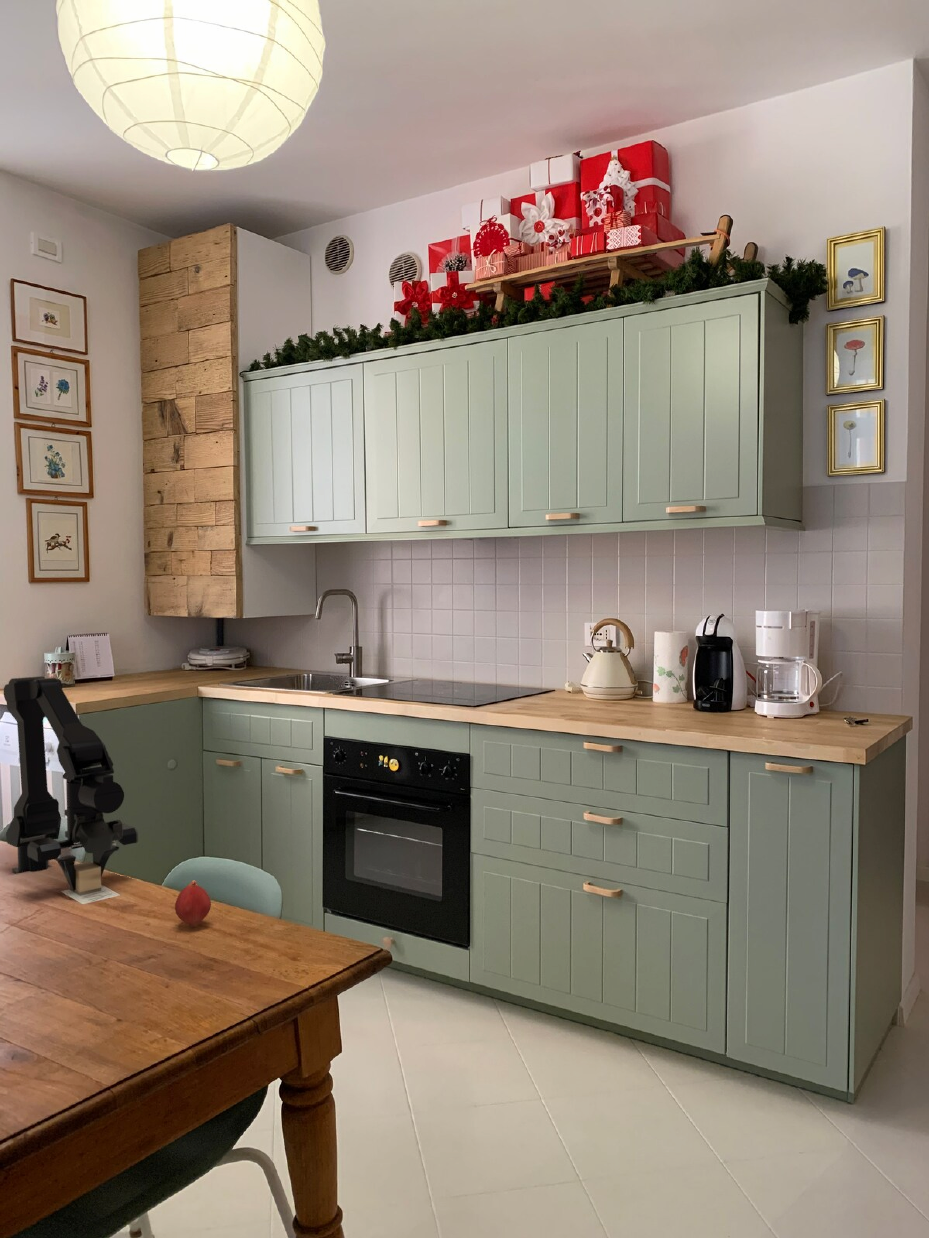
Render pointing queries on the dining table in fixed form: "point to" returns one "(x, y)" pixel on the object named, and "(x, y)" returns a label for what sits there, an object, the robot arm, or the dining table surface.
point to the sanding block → (87, 878)
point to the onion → (192, 904)
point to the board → (92, 895)
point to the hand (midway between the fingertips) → (85, 887)
